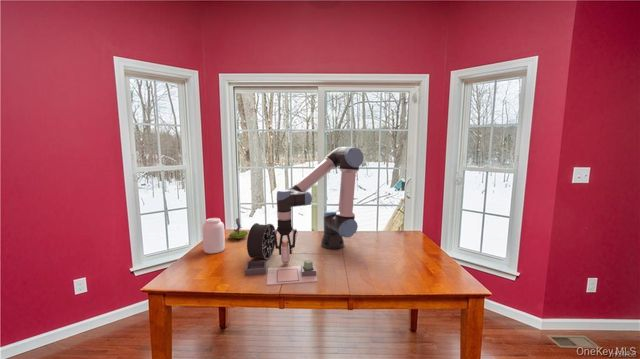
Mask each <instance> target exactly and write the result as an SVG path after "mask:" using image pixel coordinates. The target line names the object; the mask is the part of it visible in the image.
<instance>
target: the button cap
mask: <svg viewBox="0 0 640 359" xmlns="http://www.w3.org/2000/svg"><path fill="white" fill-rule="evenodd" d="M313 265H314V262H313V261H312V260H304V261H303V266H304V271H310V270H313Z"/></svg>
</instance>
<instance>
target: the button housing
mask: <svg viewBox="0 0 640 359" xmlns="http://www.w3.org/2000/svg"><path fill="white" fill-rule="evenodd" d="M300 266H301V274H302V277H305V276H316V277H317V271H316V267H315V264H313V270H310V271H304V265H300Z"/></svg>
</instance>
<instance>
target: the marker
mask: <svg viewBox="0 0 640 359" xmlns="http://www.w3.org/2000/svg"><path fill="white" fill-rule="evenodd" d="M288 247H289V243H288V240H282V246H281V248H282V250H283V261H282V264H285V265H287V264H289V261H288Z"/></svg>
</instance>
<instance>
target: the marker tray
mask: <svg viewBox="0 0 640 359" xmlns="http://www.w3.org/2000/svg"><path fill="white" fill-rule="evenodd" d="M244 271H245V274H244V276H256V275H266V273H267V259H264V260H253V261H251V260H250V261H247V262H246V266H245V270H244Z"/></svg>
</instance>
